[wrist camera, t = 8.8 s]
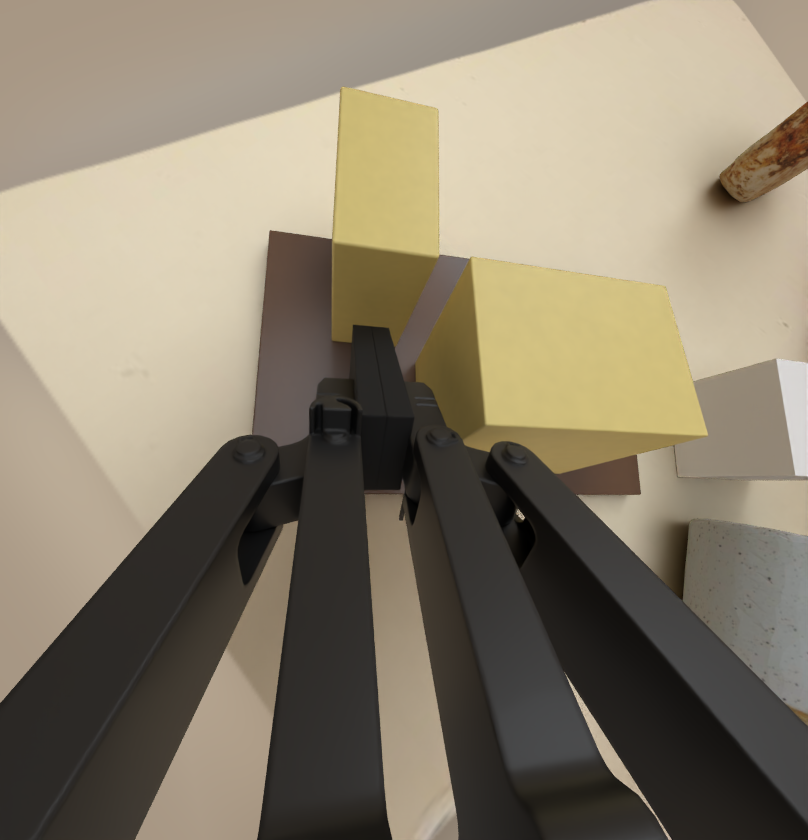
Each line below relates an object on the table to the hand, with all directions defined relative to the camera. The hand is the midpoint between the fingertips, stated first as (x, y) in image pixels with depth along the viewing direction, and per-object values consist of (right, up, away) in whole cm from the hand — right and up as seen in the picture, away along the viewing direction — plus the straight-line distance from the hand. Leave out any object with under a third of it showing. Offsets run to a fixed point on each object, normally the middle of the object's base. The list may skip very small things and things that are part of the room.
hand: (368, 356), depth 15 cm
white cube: (+22, -4, +9) cm, 24 cm away
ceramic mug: (+21, -14, +7) cm, 26 cm away
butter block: (+6, -3, +4) cm, 8 cm away
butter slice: (-1, +4, +4) cm, 6 cm away
